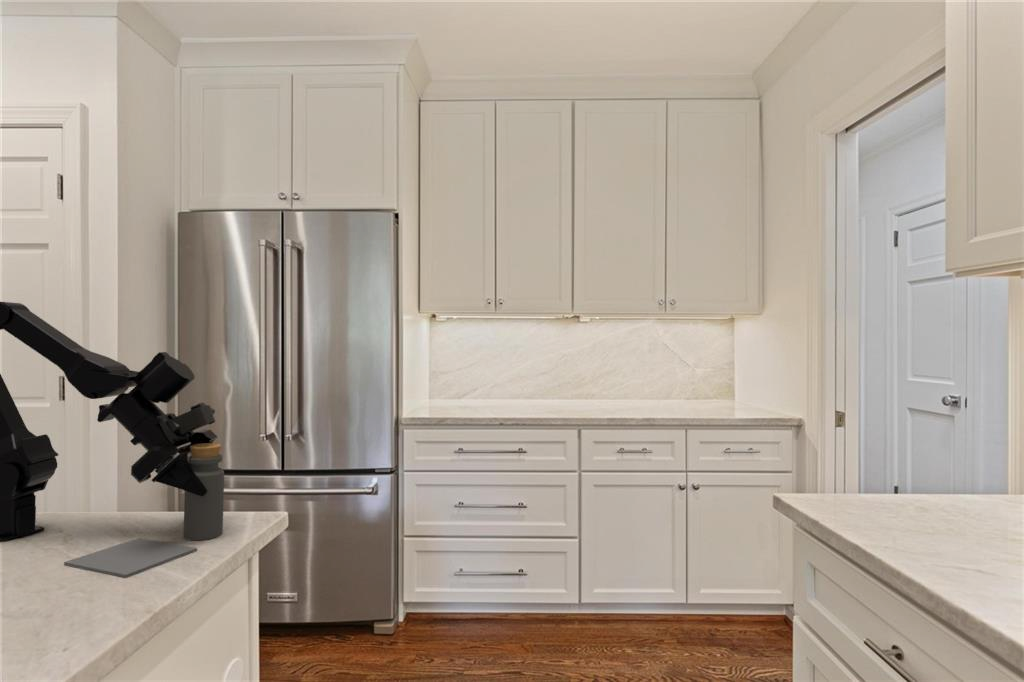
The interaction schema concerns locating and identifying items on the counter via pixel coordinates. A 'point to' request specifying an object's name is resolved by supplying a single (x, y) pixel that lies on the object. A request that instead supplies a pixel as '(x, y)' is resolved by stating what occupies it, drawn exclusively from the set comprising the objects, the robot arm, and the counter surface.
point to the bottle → (205, 510)
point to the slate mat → (130, 557)
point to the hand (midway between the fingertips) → (213, 489)
